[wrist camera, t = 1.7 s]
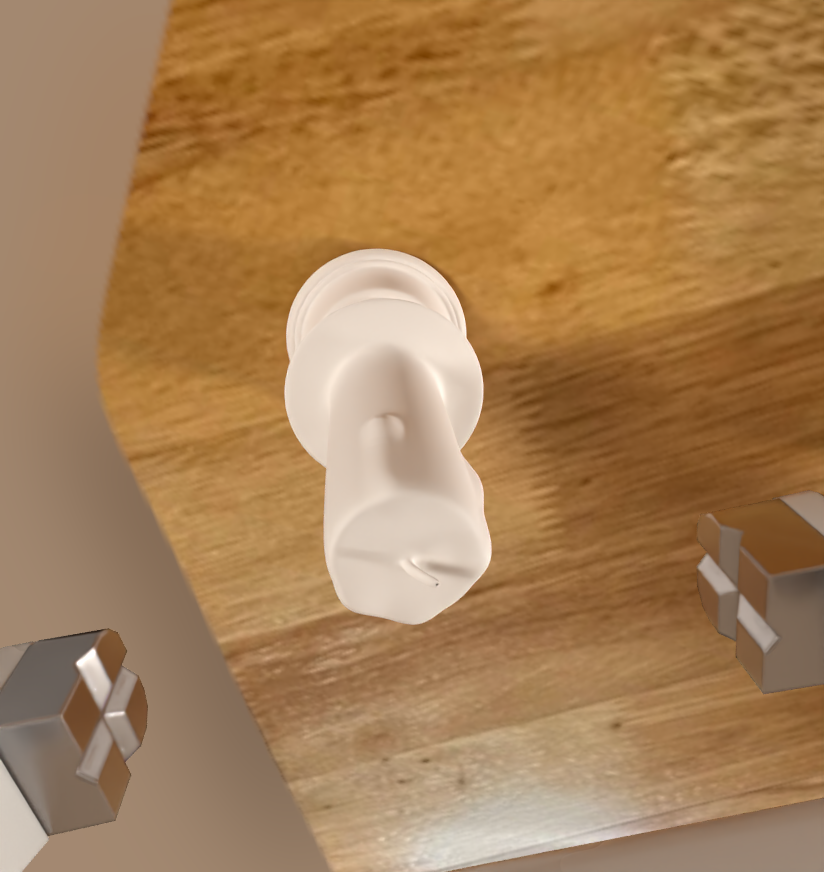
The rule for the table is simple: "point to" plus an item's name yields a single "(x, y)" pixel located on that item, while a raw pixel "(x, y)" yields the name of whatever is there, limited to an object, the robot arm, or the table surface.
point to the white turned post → (390, 431)
